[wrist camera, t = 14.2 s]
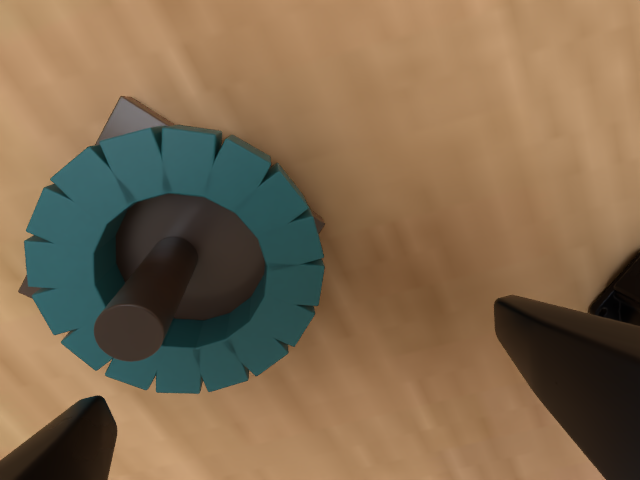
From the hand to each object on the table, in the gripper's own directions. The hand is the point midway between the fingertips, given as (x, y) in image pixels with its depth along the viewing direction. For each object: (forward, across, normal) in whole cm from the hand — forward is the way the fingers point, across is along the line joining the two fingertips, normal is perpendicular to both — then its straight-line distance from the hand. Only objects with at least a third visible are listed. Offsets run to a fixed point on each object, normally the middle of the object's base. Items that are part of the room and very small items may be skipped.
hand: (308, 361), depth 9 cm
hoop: (+10, +4, 0) cm, 11 cm away
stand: (+11, +5, 0) cm, 12 cm away
